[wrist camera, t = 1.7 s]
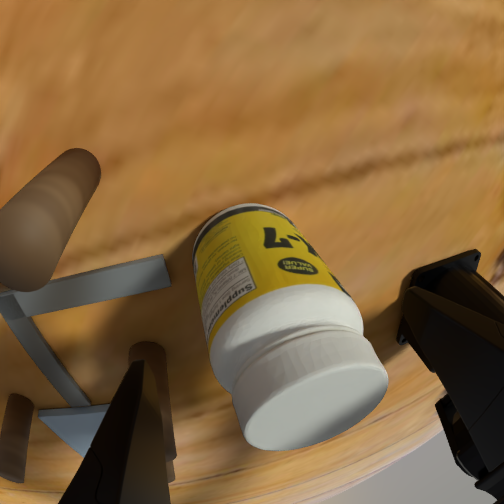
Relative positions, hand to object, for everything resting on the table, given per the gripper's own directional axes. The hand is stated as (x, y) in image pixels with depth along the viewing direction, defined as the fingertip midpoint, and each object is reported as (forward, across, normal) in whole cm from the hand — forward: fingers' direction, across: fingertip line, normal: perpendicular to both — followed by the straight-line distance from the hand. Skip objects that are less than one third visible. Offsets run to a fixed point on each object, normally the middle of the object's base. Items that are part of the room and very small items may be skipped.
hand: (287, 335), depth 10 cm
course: (+5, +11, +1) cm, 12 cm away
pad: (+5, +12, +13) cm, 18 cm away
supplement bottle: (+5, 0, 0) cm, 5 cm away
